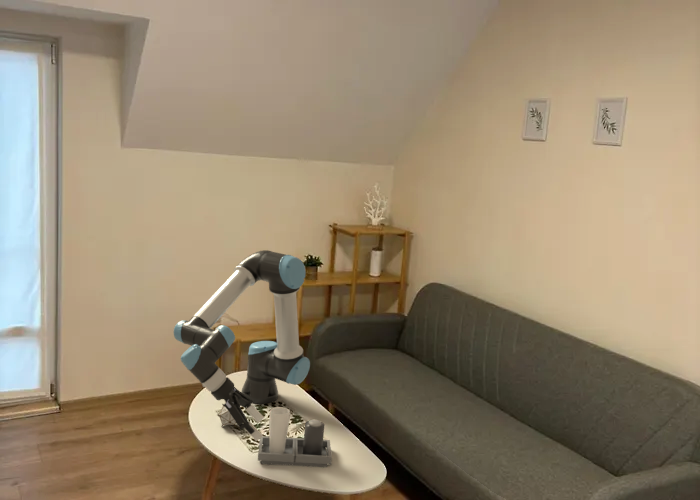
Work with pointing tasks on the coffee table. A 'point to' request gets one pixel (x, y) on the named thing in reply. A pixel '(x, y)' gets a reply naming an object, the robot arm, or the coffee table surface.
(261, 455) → the divided desk organizer
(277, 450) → the drinking glass
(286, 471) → the coffee table surface
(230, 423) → the game die
